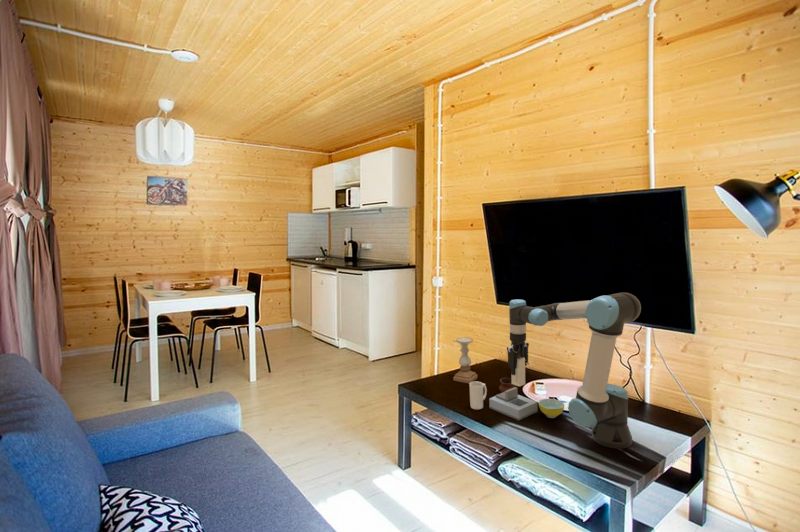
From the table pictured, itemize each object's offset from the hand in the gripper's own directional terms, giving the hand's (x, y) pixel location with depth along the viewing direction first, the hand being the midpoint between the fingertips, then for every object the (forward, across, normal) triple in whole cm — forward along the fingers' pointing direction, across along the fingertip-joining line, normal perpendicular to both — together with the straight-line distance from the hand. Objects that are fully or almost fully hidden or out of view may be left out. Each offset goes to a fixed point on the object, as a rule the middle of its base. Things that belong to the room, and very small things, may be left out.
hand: (518, 379), depth 210 cm
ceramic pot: (+17, -15, -20) cm, 30 cm away
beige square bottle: (+2, 0, 0) cm, 2 cm away
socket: (+16, 0, -3) cm, 17 cm away
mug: (+17, +9, -17) cm, 26 cm away
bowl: (+17, -8, +13) cm, 22 cm away
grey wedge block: (+11, 0, -7) cm, 13 cm away
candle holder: (+17, -12, -48) cm, 53 cm away
